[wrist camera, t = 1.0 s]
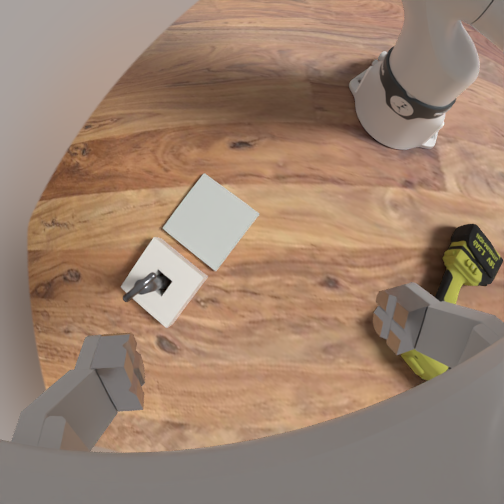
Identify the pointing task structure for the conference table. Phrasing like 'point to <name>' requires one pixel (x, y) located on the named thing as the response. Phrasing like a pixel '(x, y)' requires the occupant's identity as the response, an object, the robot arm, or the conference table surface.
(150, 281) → the chuck key
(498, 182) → the conference table surface
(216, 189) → the rubber mat
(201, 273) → the white square-hole block
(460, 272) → the cordless drill
